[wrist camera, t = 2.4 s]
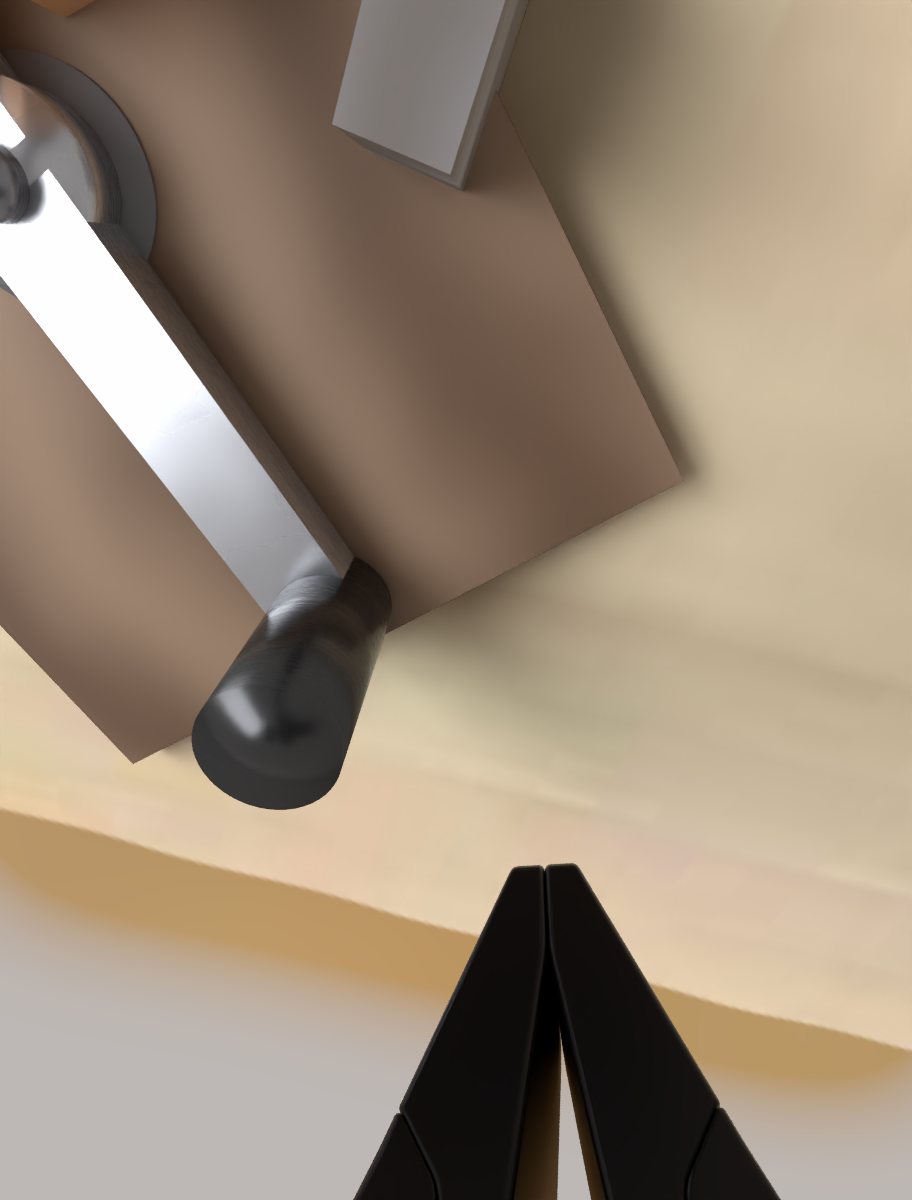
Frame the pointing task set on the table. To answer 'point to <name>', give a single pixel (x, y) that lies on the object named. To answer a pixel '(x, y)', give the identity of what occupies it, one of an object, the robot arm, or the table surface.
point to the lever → (194, 459)
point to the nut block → (63, 6)
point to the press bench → (308, 330)
